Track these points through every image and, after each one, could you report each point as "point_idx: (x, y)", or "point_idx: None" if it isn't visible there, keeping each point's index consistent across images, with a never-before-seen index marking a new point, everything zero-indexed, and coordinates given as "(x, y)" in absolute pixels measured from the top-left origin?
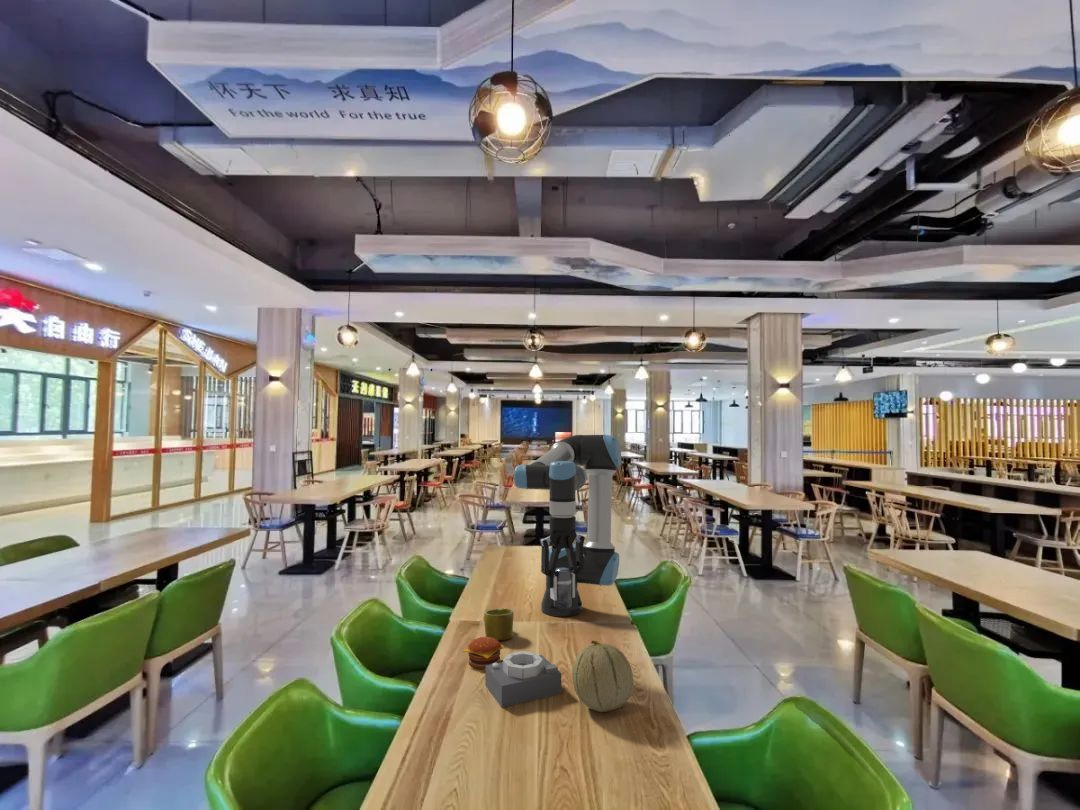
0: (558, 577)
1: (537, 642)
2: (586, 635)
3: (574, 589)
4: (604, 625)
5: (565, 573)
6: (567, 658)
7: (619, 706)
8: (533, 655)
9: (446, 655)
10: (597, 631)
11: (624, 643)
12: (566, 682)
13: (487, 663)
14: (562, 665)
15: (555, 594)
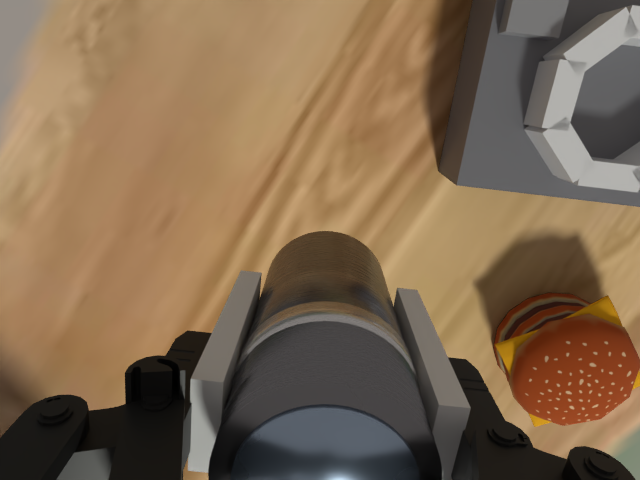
0: (419, 392)
1: None
2: (118, 346)
3: (233, 297)
4: (9, 383)
5: (358, 377)
6: (286, 225)
7: None
8: (569, 116)
9: (612, 435)
10: (61, 354)
11: (17, 221)
12: (403, 61)
13: (577, 303)
14: (335, 187)
15: (416, 310)
